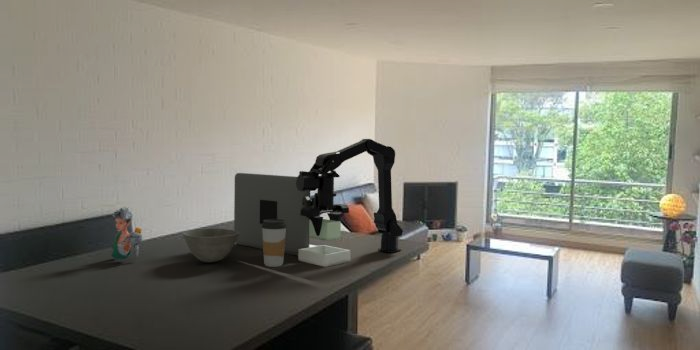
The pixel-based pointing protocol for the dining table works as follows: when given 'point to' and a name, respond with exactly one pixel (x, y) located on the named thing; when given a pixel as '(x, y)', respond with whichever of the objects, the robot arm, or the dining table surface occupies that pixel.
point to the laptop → (269, 209)
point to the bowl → (210, 243)
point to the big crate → (324, 255)
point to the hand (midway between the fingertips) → (324, 234)
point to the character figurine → (125, 235)
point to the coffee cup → (273, 241)
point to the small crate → (326, 230)
